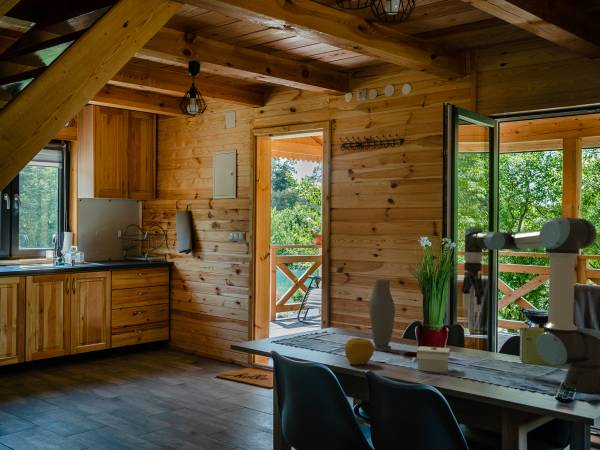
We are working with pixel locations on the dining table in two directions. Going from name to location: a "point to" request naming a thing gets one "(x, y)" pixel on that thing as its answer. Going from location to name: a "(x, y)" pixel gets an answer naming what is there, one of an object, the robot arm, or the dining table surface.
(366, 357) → the apple
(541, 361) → the protein box
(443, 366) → the tub
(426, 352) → the lid
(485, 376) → the dining table surface
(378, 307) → the vase
